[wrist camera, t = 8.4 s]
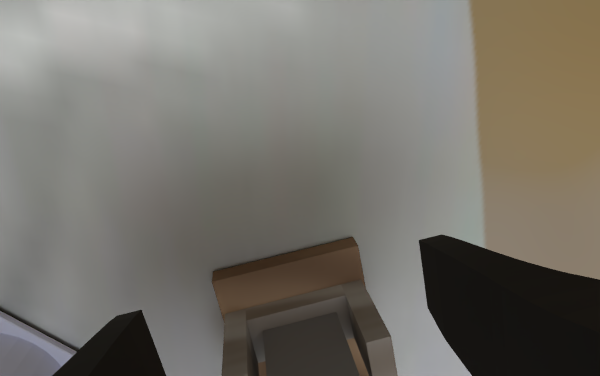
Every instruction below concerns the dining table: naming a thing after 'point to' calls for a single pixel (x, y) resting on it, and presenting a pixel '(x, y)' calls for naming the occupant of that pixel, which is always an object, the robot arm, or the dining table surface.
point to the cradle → (300, 306)
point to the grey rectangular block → (309, 349)
